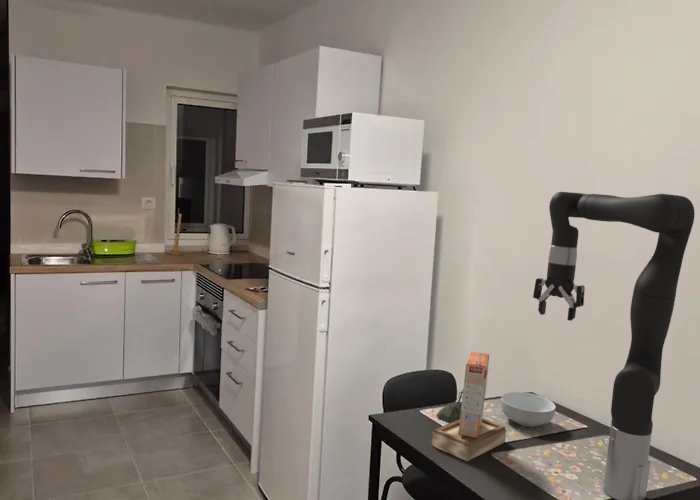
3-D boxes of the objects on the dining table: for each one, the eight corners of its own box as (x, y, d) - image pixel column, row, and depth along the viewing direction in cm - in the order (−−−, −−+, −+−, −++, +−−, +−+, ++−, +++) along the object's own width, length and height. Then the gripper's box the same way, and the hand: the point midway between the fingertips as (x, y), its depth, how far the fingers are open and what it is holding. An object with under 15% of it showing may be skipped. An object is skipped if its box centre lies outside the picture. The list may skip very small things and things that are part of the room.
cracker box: (479, 439, 169) (487, 366, 166) (457, 435, 170) (464, 363, 168) (483, 421, 182) (490, 353, 180) (462, 418, 184) (469, 350, 181)
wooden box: (505, 442, 180) (506, 426, 179) (467, 461, 166) (468, 444, 165) (470, 428, 188) (471, 413, 188) (431, 445, 174) (432, 429, 173)
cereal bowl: (490, 421, 196) (492, 400, 195) (511, 408, 209) (513, 388, 208) (542, 437, 185) (545, 415, 185) (560, 422, 199) (563, 401, 198)
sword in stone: (442, 424, 190) (445, 387, 189) (433, 416, 198) (435, 379, 197) (472, 423, 193) (475, 386, 192) (461, 415, 200) (464, 379, 199)
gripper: (592, 265, 173) (585, 321, 175) (545, 257, 183) (539, 311, 185) (580, 266, 168) (574, 324, 170) (533, 259, 178) (527, 313, 179)
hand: (555, 317), depth 177 cm, fingers open, 8 cm apart
